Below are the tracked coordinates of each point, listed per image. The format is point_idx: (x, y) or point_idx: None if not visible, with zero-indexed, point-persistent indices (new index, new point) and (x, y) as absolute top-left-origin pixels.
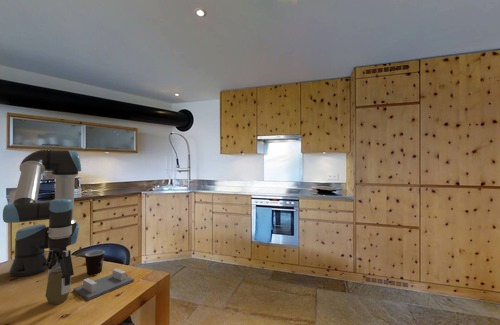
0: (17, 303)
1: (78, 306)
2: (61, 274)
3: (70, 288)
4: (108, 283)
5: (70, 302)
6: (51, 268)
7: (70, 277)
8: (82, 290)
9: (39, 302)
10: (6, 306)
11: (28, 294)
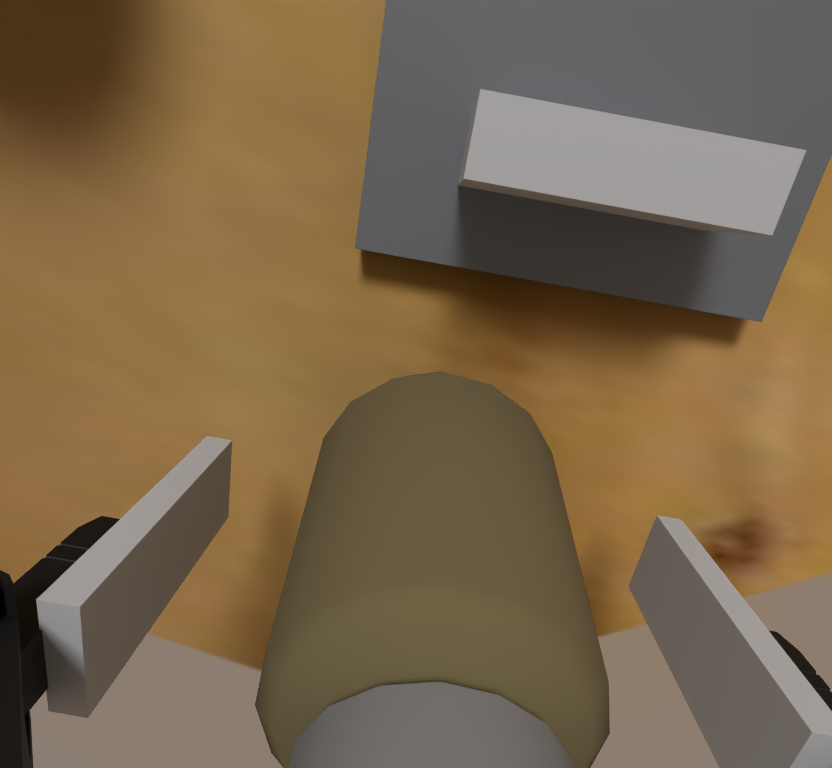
0: None
1: (727, 424)
2: (591, 757)
3: (492, 388)
4: None
5: (577, 408)
6: (41, 666)
7: (817, 696)
8: (522, 236)
9: (299, 508)
10: None
11: (33, 467)
